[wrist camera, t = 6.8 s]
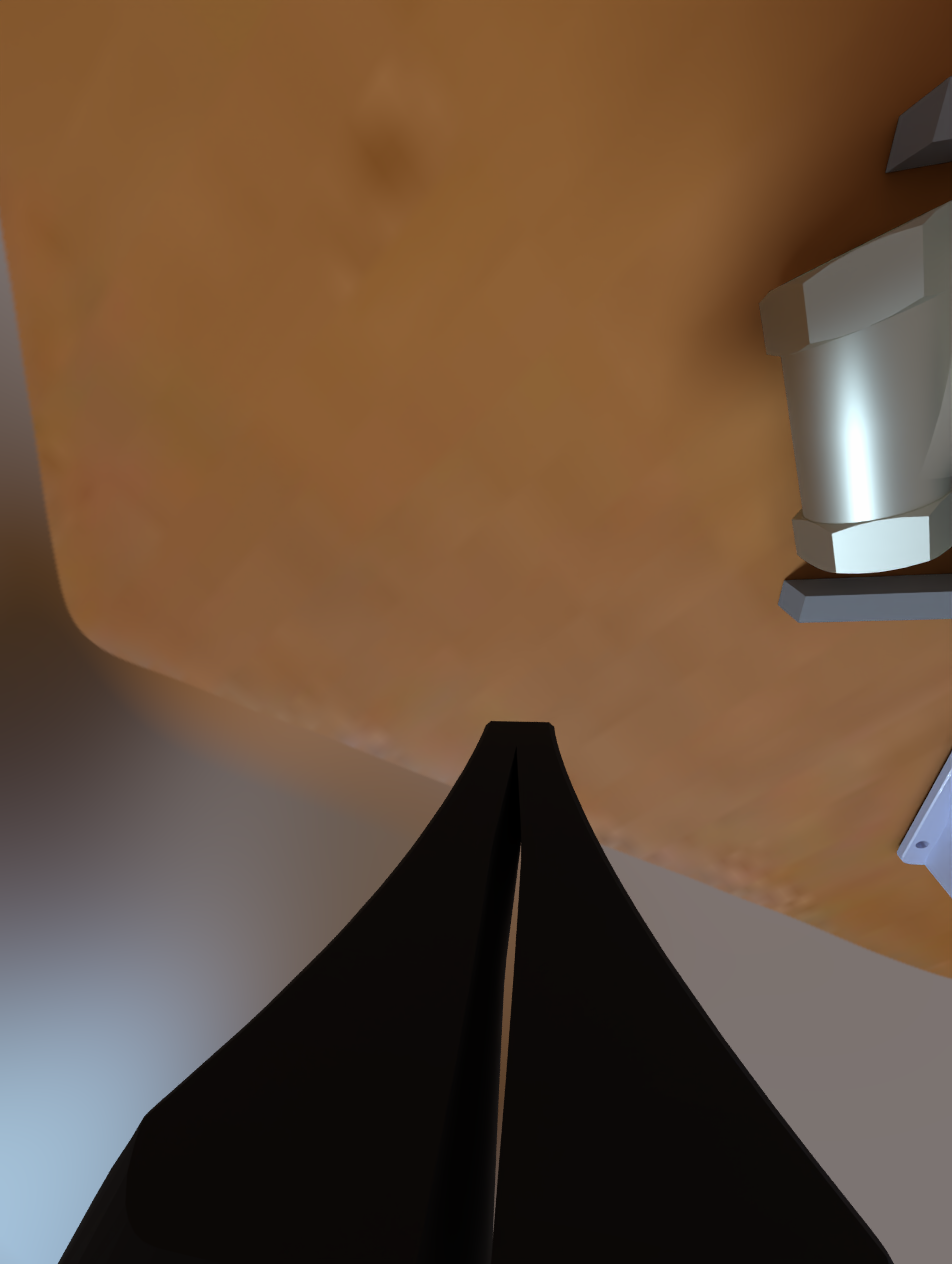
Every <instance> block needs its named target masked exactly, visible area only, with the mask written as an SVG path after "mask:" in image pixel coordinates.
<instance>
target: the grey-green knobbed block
mask: <svg viewBox="0 0 952 1264" xmlns="http://www.w3.org/2000/svg"><path fill="white" fill-rule="evenodd" d="M951 161H952V76H950V77H949V78H947V79H946V80H945V81H944V82H942V83H941V84H940V85H938V86H937V87H936V88H935V89H933V90H932V91H931V92H930V93H928V94H927V95H926V96H925V97H923V98H922V99H921V100H919V101H918V102H917V103H916V104H914V105H913V106H912V107H911V108H909V109H908V110H907V111H905V112H904V113H903V114H902V115H900V116H899V120H898V124H897V128H896V132H895V136H894V140H893V144H892V148H891V152H890V156H889V160H888V164H887V168H886V172H885V173H888V172H894V171H900V170H906V169H911V168H917V167H923V166H928V165H934V164H940V163H946V162H951ZM778 605H779V606H780V607H781V608H782V609H783V610H784V611H786V612H787V613H788V614H789V615H790V616H791V617H792V618H794V619H795V620H796V621H797V622H798V623H804V622H843V621H883V620H922V619H952V574H929V575H904V576H879V577H854V578H829V579H804V580H784V583H783V587H782V591H781V595H780V599H779V603H778Z"/></svg>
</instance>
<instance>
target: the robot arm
mask: <svg viewBox="0 0 952 1264" xmlns="http://www.w3.org/2000/svg"><path fill="white" fill-rule="evenodd" d="M520 846H521V870H520V887H519V903H518V919H517V934H516V948H515V963H514V977H513V992H512V1005H511V1018H510V1031H509V1045H508V1059H507V1072H506V1085H505V1097H504V1109H503V1122H502V1134H501V1146H500V1158H499V1171H498V1183H497V1196H496V1208H495V1220H494V1232H493V1216H494V1191H495V1168H496V1144H497V1121H498V1120H497V1119H498V1099H499V1077H500V1055H501V1035H502V1015H503V994H504V979H505V968H506V957H507V949H508V941H509V933H510V924H511V917H512V909H513V902H514V893H515V885H516V878H517V870H518V862H519V854H520ZM897 855H898V856H899V857H900V859H901V860H902V861H903V862H905V863H908V864H919V865H925V866H926V867H927V868H928V870H929V871H930V872H931V873H932V874H933V876H934V877H935V878H936V879H937V881H938V882H939V883H940V884H941V885H942V887H943V888H944V889H945V890H946V891H947V893H948V894H949V895H950V896H951V898H952V752H951V754H950V756H949V758H948V760H947V761H946V763H945V765H944V767H943V769H942V771H941V772H940V774H939V776H938V778H937V780H936V781H935V783H934V785H933V787H932V789H931V791H930V792H929V794H928V796H927V798H926V800H925V801H924V803H923V805H922V807H921V809H920V811H919V812H918V814H917V816H916V818H915V820H914V821H913V823H912V825H911V827H910V829H909V831H908V832H907V834H906V836H905V838H904V840H903V841H902V843H901V845H900V847H899V849H898V851H897ZM58 1264H894V1263H893V1261H892V1260H891V1258H890V1256H889V1254H888V1252H887V1251H886V1249H885V1248H884V1246H883V1245H882V1244H881V1242H880V1241H879V1239H878V1238H877V1237H876V1236H875V1234H874V1233H873V1232H872V1230H871V1229H870V1228H869V1226H868V1225H867V1224H866V1223H865V1221H864V1220H863V1219H862V1218H861V1216H860V1215H859V1214H858V1213H857V1211H856V1210H855V1209H854V1208H853V1206H852V1205H851V1204H850V1202H849V1201H848V1200H847V1199H846V1197H845V1196H844V1195H843V1194H842V1192H841V1191H840V1190H839V1189H838V1187H837V1186H836V1185H835V1184H834V1182H833V1181H832V1180H831V1179H830V1177H829V1176H828V1175H827V1174H826V1172H825V1171H824V1170H823V1169H822V1167H821V1166H820V1165H819V1163H818V1162H817V1161H816V1160H815V1158H814V1157H813V1156H812V1154H811V1153H810V1152H809V1151H808V1149H807V1148H806V1147H805V1145H804V1144H803V1143H802V1142H801V1140H800V1139H799V1138H798V1136H797V1135H796V1134H795V1132H794V1131H793V1130H792V1128H791V1127H790V1126H789V1125H788V1123H787V1122H786V1121H785V1119H784V1118H783V1117H782V1116H781V1115H780V1113H779V1112H778V1110H777V1109H776V1108H775V1107H774V1105H773V1104H772V1103H771V1101H770V1100H769V1099H768V1097H767V1096H766V1095H765V1093H764V1092H763V1090H762V1089H761V1088H760V1086H759V1085H758V1084H757V1082H756V1081H755V1080H754V1078H753V1077H752V1076H751V1074H750V1073H749V1072H748V1070H747V1069H746V1068H745V1066H744V1065H743V1064H742V1062H741V1061H740V1060H739V1058H738V1057H737V1055H736V1054H735V1053H734V1051H733V1050H732V1049H731V1048H730V1046H729V1045H728V1043H727V1042H726V1041H725V1039H724V1038H723V1037H722V1035H721V1034H720V1032H719V1031H718V1029H717V1028H716V1026H715V1025H714V1024H713V1022H712V1021H711V1019H710V1018H709V1016H708V1015H707V1014H706V1012H705V1011H704V1009H703V1008H702V1006H701V1005H700V1003H699V1002H698V1001H697V999H696V998H695V996H694V995H693V993H692V992H691V991H690V989H689V988H688V986H687V985H686V983H685V982H684V981H683V979H682V978H681V976H680V975H679V973H678V972H677V970H676V969H675V968H674V966H673V965H672V963H671V962H670V960H669V959H668V957H667V956H666V954H665V953H664V951H663V950H662V949H661V947H660V945H659V943H658V942H657V940H656V939H655V937H654V936H653V934H652V932H651V931H650V929H649V928H648V926H647V925H646V923H645V922H644V920H643V918H642V917H641V915H640V914H639V912H638V910H637V909H636V907H635V906H634V904H633V902H632V900H631V899H630V897H629V895H628V894H627V892H626V890H625V889H624V887H623V885H622V884H621V882H620V880H619V878H618V877H617V875H616V873H615V871H614V870H613V868H612V866H611V864H610V862H609V861H608V859H607V857H606V855H605V853H604V851H603V849H602V847H601V845H600V843H599V841H598V839H597V838H596V836H595V834H594V832H593V830H592V828H591V826H590V824H589V822H588V820H587V817H586V815H585V813H584V811H583V809H582V807H581V804H580V802H579V800H578V798H577V795H576V793H575V791H574V789H573V786H572V784H571V782H570V779H569V777H568V774H567V771H566V769H565V766H564V763H563V760H562V757H561V754H560V751H559V748H558V744H557V740H556V736H555V730H554V726H552V725H551V724H550V723H549V722H507V721H491V722H489V723H488V724H487V725H486V727H485V729H484V731H483V734H482V736H481V738H480V740H479V742H478V744H477V746H476V748H475V750H474V752H473V754H472V756H471V757H470V759H469V761H468V763H467V765H466V766H465V768H464V770H463V772H462V773H461V775H460V776H459V778H458V780H457V781H456V783H455V785H454V786H453V788H452V790H451V791H450V793H449V794H448V796H447V798H446V799H445V801H444V802H443V804H442V805H441V807H440V808H439V810H438V811H437V812H436V814H435V815H434V817H433V818H432V820H431V821H430V823H429V824H428V825H427V827H426V828H425V830H424V831H423V833H422V834H421V836H420V837H419V838H418V840H417V841H416V842H415V844H414V845H413V846H412V848H411V849H410V850H409V852H408V853H407V854H406V855H405V857H404V858H403V859H402V861H401V862H400V863H399V864H398V866H397V867H396V868H395V869H394V871H393V872H392V873H391V874H390V876H389V877H388V878H387V879H386V880H385V882H384V883H383V884H382V885H381V887H380V888H379V889H378V890H377V891H376V892H375V893H374V895H373V896H372V897H371V898H370V899H369V900H368V901H367V902H366V904H365V905H364V906H363V907H362V908H361V909H360V910H359V912H358V913H357V914H356V915H355V916H354V917H353V918H352V919H351V921H350V922H349V923H348V924H347V925H346V926H345V927H344V928H343V929H342V930H341V932H340V933H339V934H338V935H337V936H336V937H335V938H334V939H333V940H332V941H331V942H330V943H329V944H328V945H327V946H326V947H325V948H324V949H323V950H322V951H321V953H319V954H318V955H317V956H316V958H314V959H313V960H312V961H311V962H310V963H309V964H308V965H307V966H306V967H305V968H304V969H303V971H301V972H300V973H299V974H298V975H297V976H296V977H295V978H294V979H293V980H292V981H291V982H290V983H289V984H288V985H287V986H286V987H285V988H284V989H283V990H282V991H281V992H280V993H279V994H278V995H277V996H276V997H275V998H274V999H273V1000H272V1001H271V1002H270V1003H269V1004H268V1005H267V1006H266V1007H265V1008H264V1009H263V1010H262V1011H261V1012H260V1013H258V1014H257V1015H256V1017H254V1018H253V1019H252V1020H251V1021H250V1022H249V1023H248V1024H247V1025H246V1026H245V1027H243V1028H242V1029H241V1030H240V1031H239V1032H238V1033H237V1034H236V1035H235V1036H233V1037H232V1038H231V1039H230V1040H229V1041H228V1042H227V1043H225V1045H223V1046H222V1047H221V1048H220V1049H219V1050H218V1051H216V1052H215V1053H214V1054H213V1055H212V1056H211V1057H210V1058H209V1059H208V1060H206V1061H205V1062H204V1063H203V1064H202V1065H201V1066H200V1067H199V1068H197V1069H196V1070H195V1071H194V1072H193V1073H192V1074H191V1075H190V1076H189V1077H187V1078H186V1079H185V1080H184V1081H183V1082H182V1083H181V1084H179V1085H178V1086H177V1087H176V1088H175V1089H174V1090H173V1091H172V1092H170V1093H169V1094H168V1095H167V1096H166V1097H165V1098H164V1099H162V1100H161V1101H160V1102H159V1103H158V1104H157V1105H156V1106H155V1107H153V1109H151V1110H150V1111H149V1112H148V1113H147V1114H146V1115H145V1116H144V1118H143V1120H142V1121H141V1123H140V1125H139V1126H138V1128H137V1130H136V1131H135V1133H134V1135H133V1137H132V1138H131V1140H130V1141H129V1143H128V1144H127V1146H126V1147H125V1149H124V1150H123V1152H122V1153H121V1155H120V1156H119V1158H118V1159H117V1161H116V1162H115V1164H114V1165H113V1167H112V1168H111V1170H110V1172H109V1174H108V1175H107V1177H106V1179H105V1180H104V1182H103V1184H102V1186H101V1188H100V1189H99V1191H98V1193H97V1194H96V1196H95V1198H94V1200H93V1201H92V1203H91V1205H90V1207H89V1209H88V1210H87V1212H86V1214H85V1216H84V1218H83V1219H82V1221H81V1223H80V1225H79V1227H78V1228H77V1230H76V1232H75V1234H74V1236H73V1237H72V1239H71V1241H70V1243H69V1245H68V1246H67V1248H66V1250H65V1252H64V1253H63V1255H62V1257H61V1259H60V1261H59V1262H58Z"/></svg>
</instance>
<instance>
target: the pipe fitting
mask: <svg viewBox="0 0 952 1264" xmlns="http://www.w3.org/2000/svg"><path fill="white" fill-rule="evenodd" d="M759 308H760V315H761V321H762V328H763V334H764V341H765V347H766V354H767V355H772V356H781V361H782V368H783V375H784V382H785V390H786V397H787V404H788V411H789V419H790V426H791V433H792V440H793V447H794V454H795V461H796V468H797V475H798V482H799V489H800V496H801V502H802V509H801V510H800V511H799V512H798V513H797V514H796V515H795V517H794V518H793V519H792V524H793V531H794V537H795V544H796V550H797V555H798V556H799V557H801V558H802V559H803V560H805V561H806V562H808V563H809V564H811V565H813V566H814V567H816V568H819V569H821V570H824V571H828V572H833V573H847V574H860V573H875V572H883V571H890V570H895V569H900V568H905V567H909V566H913V565H917V564H920V563H924V562H927V561H930V560H932V559H935V558H936V557H938V556H940V555H941V554H943V553H944V552H946V551H947V550H948V549H950V548H951V547H952V200H951V201H949V202H947V203H945V204H943V205H941V206H939V207H937V208H935V209H933V210H930V211H928V212H926V213H924V214H922V215H920V216H918V217H916V218H914V219H912V220H910V221H908V222H906V223H904V224H902V225H900V226H898V227H896V228H894V229H892V230H890V231H888V232H886V233H884V234H882V235H880V236H878V237H876V238H874V239H872V240H870V241H868V242H866V243H864V244H862V245H860V246H858V247H856V248H854V249H852V250H850V251H848V252H846V253H844V254H842V255H840V256H838V257H836V258H834V259H832V260H830V261H828V262H826V263H824V264H822V265H820V266H818V267H816V268H814V269H812V270H810V271H808V272H806V273H804V274H802V275H800V276H798V277H796V278H794V279H792V280H791V281H789V282H787V283H785V284H783V285H781V286H779V287H777V288H775V289H773V290H771V291H769V293H768V294H767V295H766V296H765V297H764V298H763V299H762V300H761V302H760V303H759Z"/></svg>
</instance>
